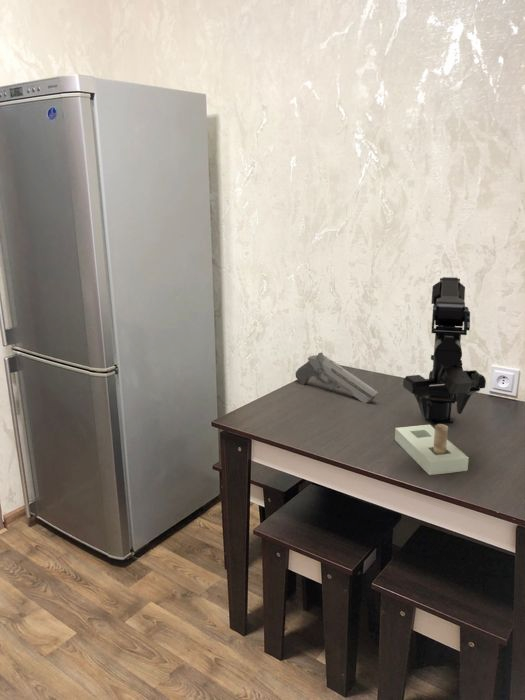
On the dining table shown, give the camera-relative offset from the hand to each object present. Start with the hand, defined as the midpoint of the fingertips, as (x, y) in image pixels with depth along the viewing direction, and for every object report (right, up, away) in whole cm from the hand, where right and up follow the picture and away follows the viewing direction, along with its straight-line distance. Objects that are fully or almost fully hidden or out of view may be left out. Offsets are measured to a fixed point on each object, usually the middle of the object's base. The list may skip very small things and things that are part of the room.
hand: (441, 415), depth 137 cm
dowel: (0, -12, +3) cm, 13 cm away
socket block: (-1, -11, +8) cm, 14 cm away
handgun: (-19, +1, +53) cm, 56 cm away
